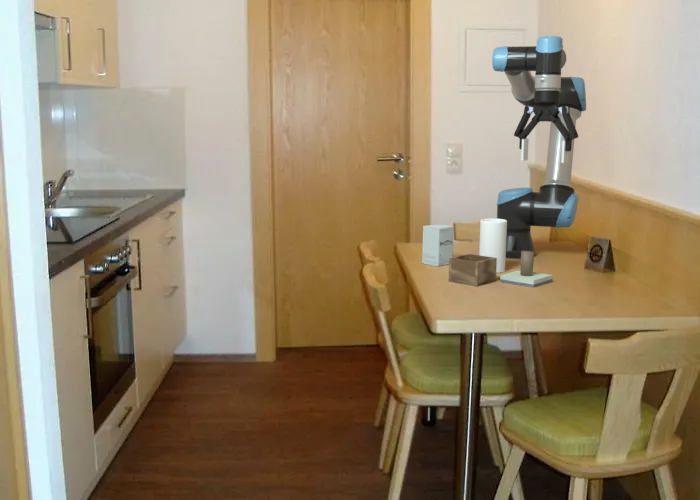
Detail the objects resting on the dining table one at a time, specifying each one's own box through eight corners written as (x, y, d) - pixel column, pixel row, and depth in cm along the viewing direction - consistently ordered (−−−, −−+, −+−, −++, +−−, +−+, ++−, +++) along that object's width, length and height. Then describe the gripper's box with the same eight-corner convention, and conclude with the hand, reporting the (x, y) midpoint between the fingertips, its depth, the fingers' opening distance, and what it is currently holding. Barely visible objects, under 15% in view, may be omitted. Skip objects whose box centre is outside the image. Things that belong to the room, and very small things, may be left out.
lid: (519, 273, 253) (520, 247, 251) (552, 278, 246) (553, 251, 244) (500, 279, 245) (501, 251, 243) (533, 284, 238) (534, 256, 236)
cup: (504, 273, 258) (506, 222, 255) (478, 272, 259) (479, 221, 256) (505, 268, 266) (507, 218, 263) (479, 267, 267) (481, 217, 264)
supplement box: (438, 266, 268) (439, 228, 265) (421, 263, 273) (422, 225, 271) (453, 264, 272) (454, 226, 270) (436, 260, 278) (437, 223, 276)
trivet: (519, 276, 253) (519, 273, 253) (552, 281, 246) (552, 278, 246) (500, 281, 245) (500, 279, 245) (533, 287, 238) (533, 284, 238)
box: (467, 276, 252) (468, 253, 251) (495, 281, 246) (496, 257, 245) (448, 281, 245) (449, 258, 244) (477, 286, 239) (477, 262, 237)
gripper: (504, 90, 253) (501, 160, 256) (580, 89, 236) (576, 164, 240) (517, 90, 258) (514, 158, 262) (592, 89, 242) (588, 162, 245)
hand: (544, 161), depth 251 cm, fingers open, 13 cm apart
